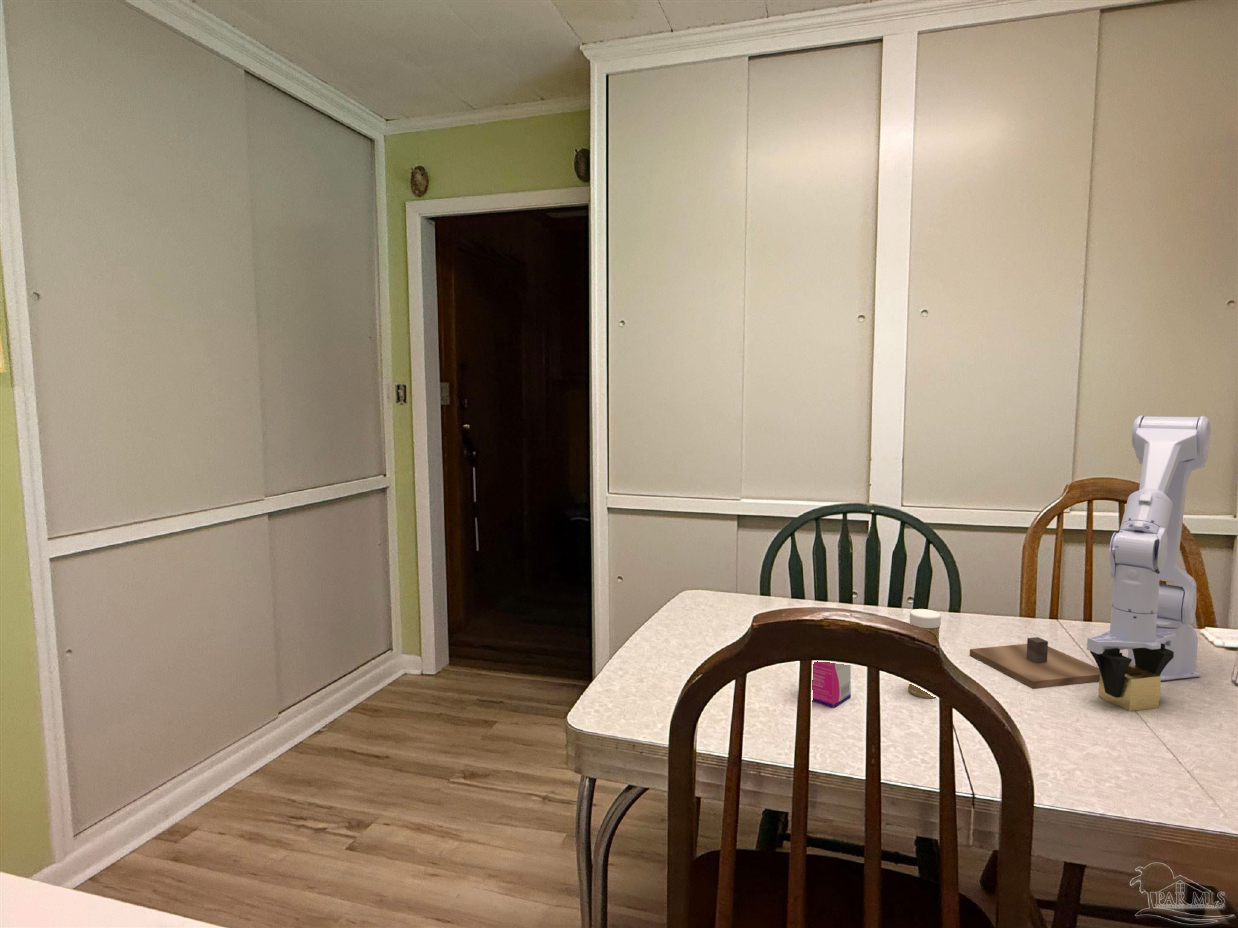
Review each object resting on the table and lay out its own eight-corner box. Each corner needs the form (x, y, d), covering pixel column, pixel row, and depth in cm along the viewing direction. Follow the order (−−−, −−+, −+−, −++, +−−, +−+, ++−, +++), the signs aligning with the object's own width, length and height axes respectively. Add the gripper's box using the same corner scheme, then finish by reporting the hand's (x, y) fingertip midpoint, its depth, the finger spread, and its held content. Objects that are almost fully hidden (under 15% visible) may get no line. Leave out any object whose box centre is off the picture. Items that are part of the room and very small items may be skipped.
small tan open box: (1126, 692, 113) (1128, 662, 112) (1158, 707, 107) (1160, 676, 107) (1098, 696, 111) (1100, 665, 111) (1129, 711, 106) (1131, 679, 106)
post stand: (1039, 648, 132) (1040, 622, 132) (1109, 680, 118) (1111, 651, 117) (969, 655, 129) (970, 629, 129) (1032, 688, 115) (1034, 658, 114)
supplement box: (818, 686, 116) (819, 619, 115) (851, 697, 112) (853, 627, 111) (799, 697, 112) (800, 628, 111) (833, 708, 108) (835, 636, 107)
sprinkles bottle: (943, 694, 113) (947, 613, 111) (927, 701, 110) (930, 618, 109) (918, 684, 116) (920, 606, 115) (901, 691, 114) (903, 611, 113)
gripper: (1118, 619, 103) (1112, 708, 104) (1198, 612, 105) (1192, 699, 107) (1077, 605, 109) (1072, 689, 111) (1154, 599, 112) (1148, 680, 114)
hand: (1128, 693), depth 109 cm, fingers closed on small tan open box, 5 cm apart
